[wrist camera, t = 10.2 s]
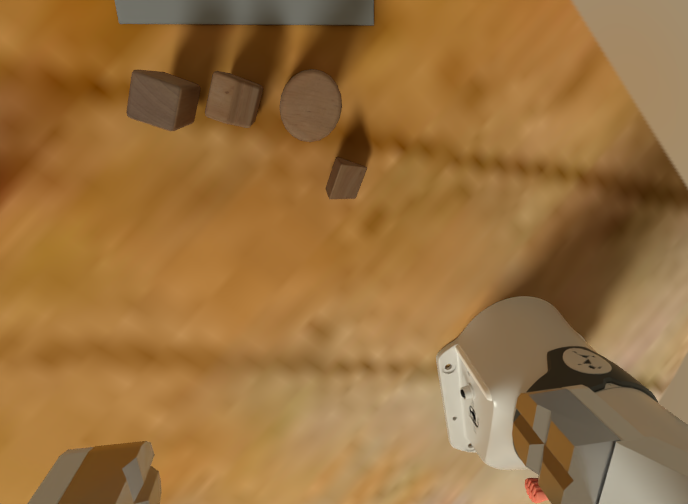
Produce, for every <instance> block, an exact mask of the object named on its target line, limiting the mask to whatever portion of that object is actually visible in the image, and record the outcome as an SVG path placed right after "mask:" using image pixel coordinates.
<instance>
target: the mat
mask: <svg viewBox="0 0 688 504" xmlns="http://www.w3.org/2000/svg"><path fill="white" fill-rule="evenodd" d="M115 5H116V10H117V15H118V20H119V23H120V24H237V25H374V0H115Z"/></svg>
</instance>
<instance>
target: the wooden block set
mask: <svg viewBox="0 0 688 504" xmlns="http://www.w3.org/2000/svg"><path fill="white" fill-rule="evenodd" d="M262 93H263V86H261V85H259V84H257V83H254V82H251V81H249V80H246V79H243V78H241V77H238V76H235V75H233V74H230V73H225V72H219V71H215V72H214V73H213V76H212V81H211V86H210V90H209V95H208V100H207V105H206V109H205V115H206V116H207V117H208V118H211V119H214V120H217V121H220V122H223V123H227V124H231V125H236V126H240V127H245V128H249V127H250V126H251V125H252V124H253V123H254V122H255V120H256V116H257V112H258V108H259V104H260V100H261V96H262ZM199 94H200V86H199V85H198V84H196V83H193V82H190V81H187V80H184V79H182V78H179V77H176V76H173V75H171V74H168V73H165V72H157V71H146V70H134V71H133V72H132V77H131V84H130V91H129V99H128V106H127V116H128V117H130V118H131V119H134V120H137V121H141V122H144V123H147V124H150V125H153V126H156V127H159V128H162V129H165V130H168V131H175V130H177V129H180V128H182V127H184V126H187V125H189V124H192V123H193V122H194V119H195V114H196V109H197V104H198V99H199ZM341 108H342V102H341V94H340V91H339V89H338V86H337V84H336V83H335V81H334V80H333V79H332V78H331V76H329V75H327V74H326V73H324V72H323V71H319V70H314V69H310V70H305V71H301V72H300V73H298V74H296V75H295V76H293V77H292V78H291V79H290V81H289V82H288V83H287V84H286V86H285V88H284V90H283V93H282V95H281V101H280V113H281V119H282V121H283V124H284V126H285V128H286V129H287V130H288V131H289V133H290V134H291V135H292V136H294V137H295V138H297V139H299V140H301V141H307V142H313V141H318V140H321V139H322V138H324V137H326V136H327V135H329V133H330V132H331V131H332V130H333V129H334V128H335V126H336V124H337V122H338V120H339V118H340V114H341ZM366 170H367V167H365V166H362V165H359V164H357V163H354V162H351V161H348V160H345V159H342V158H339V157H336V159H335V162H334V165H333V168H332V171H331V174H330V177H329V180H328V183H327V186H326V191H327V194H328V197H329V199H355V198H356V196H357V194H358V191H359V188H360V186H361V183H362V180H363V178H364V175H365V172H366Z"/></svg>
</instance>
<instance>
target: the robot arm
mask: <svg viewBox="0 0 688 504" xmlns="http://www.w3.org/2000/svg"><path fill="white" fill-rule="evenodd" d="M436 363H437V369H438V375H439V382H440V388H441V394H442V401H443V407H444V413H445V419H446V426H447V432H448V438H449V442H450V444H451V446H452V447H454V448H456V449H459V450H462V451H467V452H477V454H478V455H479V457H480V458H481V459H482V461H483V462H484V463H486V464H487V465H489V466H491V467H493V468H497V469H502V470H523V469H530V470H532V471H534V472H535V473H537V474H538V478H527V479H526V480H525V488H526V490H527V494H528V495H529V498H530V499H531V500H532V502H535V503H540V502H542V501H545V500H549V501H550V502H551V504H688V425H687V424H686V423H685V422H683V421H682V420H680V419H679V418H678V417H676V416H675V415H673V414H672V413H671V412H669V411H668V410H666V409H665V408H664V407H663V406H661V405H660V404H659V403H658V401H657V399H656V398H655V396H654V395H653V393H652V392H651V391H649V390H648V389H647V388H646V387H645V386H643V385H642V384H641V383H640V382H638V381H637V380H636V379H635V378H633V377H632V376H631V375H630V374H628V373H627V372H625V371H624V370H623V369H621V368H620V367H619V366H617V365H616V364H614V363H613V362H611V361H609V360H608V359H606V358H605V357H603V356H601V355H599V354H598V353H597V352H596V351H595V350H594V349H593V348H592V347H591V346H589V345H588V344H587V343H586V342H585V339H584V338H583V337H582V336H581V335H580V334H579V333H578V332H576V331H575V330H574V329H573V328H572V327H571V326H570V325H569V324H568V323H567V321H566V320H565V319H564V318H563V316H562V315H561V314H560V312H559V311H558V310H557V309H556V308H555V307H554V306H553V305H552V304H550V303H549V302H547V301H545V300H543V299H540V298H536V297H530V296H518V297H512V298H508V299H504V300H502V301H499V302H497V303H495V304H493V305H491V306H489V307H488V308H486V309H485V310H483V311H482V312H480V313H479V314H478V315H477V316H476V317H475V318H474V319H473V320H472V321H471V322H470V323H469V324H468V325H467V327H466V328H465V329H464V330H463V332H462V333H461V334H460V335H459V336H458V337H457V339H455V340H454V341H452V342H451V343H449V344H448V345H446V346H445V347H444V348H442V349H441V350H440V351H439V352H438V354H437V356H436ZM447 364H451V365H450V367H448V368H445V366H446V365H447ZM470 443H471V444H472V445H470V446H468V445H469V444H470ZM153 457H154V452H153V448H152V445H151V443H150V442H147V441H142V442H133V443H123V444H113V445H104V446H95V447H91V448H80V449H70V450H67V451H66V452H64V453H63V454H62V455H60V457H59V458H58V459H57V461H56V462H55V464H54V465H53V467H52V468H51V470H50V471H49V473H48V474H47V476H46V477H45V479H44V480H43V482H42V483H41V485H40V486H39V487H38V489H37V490H36V492H35V493H34V495H33V496H32V498H31V499H30V501H29V502H28V504H160V498H161V480H160V475H159V471H157V470H156V469H155V468H153V467H152V466H150V465H151V463H152V460H153Z"/></svg>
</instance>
